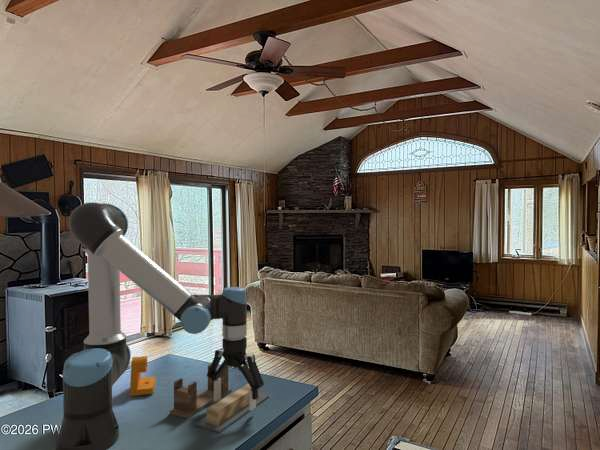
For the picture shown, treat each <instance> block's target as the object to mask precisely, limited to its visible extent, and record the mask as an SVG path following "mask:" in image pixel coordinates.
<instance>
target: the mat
mask: <svg viewBox="0 0 600 450" xmlns="http://www.w3.org/2000/svg"><path fill="white" fill-rule="evenodd" d="M269 397H270V396H269V394H263V393H260V397H258V398H257V399H256V407H258V406H259V405H260V404H262V403H263V402H265V401H266V400H267V399H268V398H269ZM248 413H250V411H249V404H248V405H247V406H245V407H244V408H242V409H241V410H239V411H238V412H237V413H235V414H234V415H232V416H231V417H229V418H228V419H226V420H225V421H224V422H222V423H221V424H219V425H218V426H217V425H214V424H211V423H207V415H206V416H205V417H202V419H200V420H199V421H197V422H195V423H194V425H195V426H196V427H199V428H202V429H206V430H208V431H210V432H211V431H212V432H215V433H217V434H221V433H222V432H223V431H224V430H226V429H227V428H229V427H230V426H231V425H233V424H234V423H235V422H237V421H238V420H240V419H241V418H243V417H244V416H246V414H248Z"/></svg>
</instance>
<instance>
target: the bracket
mask: <svg viewBox="0 0 600 450" xmlns="http://www.w3.org/2000/svg"><path fill="white" fill-rule="evenodd" d="M211 364H212V362H211V363H210V364H207V372H208V371H209V369H210V366H211ZM217 370H218V369H216V371H217ZM219 378H221V399H223V398H224V397H226V396H228V394H231V392H232V393H233V391H232V388H231V387H229V366H227V368H226V369H225V370H224V371H223V373H222V374H221V375H220V376H219ZM183 383H184V382H183V377H180V378H178V379H176V380H173V408H172V409H169V414H171V415H173V416H176V417H177V416H178V417H180V418H184V419H189V418H190V417H192V416H194V415H195V414H196V413H199V412H201V411H202V410H203V409H205V408H207V407H208V406H209V407H210V406H211V405H212V404H214V403H216V402H215V401H214V390H213V389H212V379H211V378H210V377H207V389H206V390H204V391H202V392H200V393H199V394H198V392H197V391H198V390H197V386H198V385H197V384H198V383H197V381H192V382H191V383H189V384H187V387H186V386H183V385H184V384H183Z"/></svg>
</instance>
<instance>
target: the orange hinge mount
mask: <svg viewBox="0 0 600 450" xmlns="http://www.w3.org/2000/svg"><path fill="white" fill-rule="evenodd" d="M130 363H131V365H130V381H129V382H130V383H129V386H130V387H129V393H130V394H129V396H143V395H151V394H154V392H155V389H156V383H157V382H156V379H157V378H156V376H146V377H142V373H147V371H148V355H144V356H142V355H141V356H132V358H131V361H130Z"/></svg>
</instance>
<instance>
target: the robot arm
mask: <svg viewBox="0 0 600 450" xmlns="http://www.w3.org/2000/svg"><path fill="white" fill-rule="evenodd" d="M128 228H129V220H128V217H127V215H126V214H125V212H124V211H123V210H122V209H121V208H119V207H118V206H116V205H113V204H110V203H98V202H85V203H82V204H80V205H78V206H77V207H75V208H74V209H73V210H72V212H71V213H70V215H69V217H68V229H69V232H70V233H71V236H72V237H73V238H74V239H75V240H76V241H77V242H78V243H79V244H80V245H81V250H82V251H83V252H85V253H86V255H87V276H88V277H87V280H88V281H87V282H88V284H87V286H88V287H87V288H88V325H89V326H88V329H89V330H88V331H89V333H88V335H87V336H86V338H84V339H83V350H80V351H78V352H75V353H72V354H70V356H69V357H68V358H66V360H65V362H64V364H63V369H62V370H63V371H62V383H63V384H62V390H63V392H62V393H63V396H62V397H63V407H62V408H63V417H62V421H61V425H60V426H59V427H60V428H59V431H58V434H57V436H56V439H55V450H107V449H109V448H110V447H111V446H112V445H114V444H115V443H116V442H117V441H118V439H119V438H120V426H119V424H118V421H117V418H116V416H115V413H114V410H113V386H114V384H115V383H116V382H117V381H118V380H119V378H120V377H121V376H122V375H123V374H124V373H125V372H126V371H127V368H128V367H129V364H130V363H131V359H132V358H131V356H132V355H131V353H132V351H131V349H130V346H129V345H128V343H127V334H125V332H123V331H122V330H121V326H122V325H121V321H122V320H121V282H120V274H123V275H124V276H125V277H127V278H128V279H129V280H130V281H131V282H133V283H134V284H135V285H136V286H138V287H139V288H140V289H141V290H142V291H143V292H144V293H146V294H147V295H149V297H151V298H152V299H153V300H155V301H156V302H157V303H158V304H159V305H160V306H161V307H163V308H164V309H165V310H167V311H168V312H169V313H170V314H172V316H174V317H175V318H176V319H177V320H178V321H180V326H181V327H182V329H183V331H185V332H186V333H188V334H190V335H191V334H192V335H197V334H200V333H202V332H204V331H205V330H206V329H207V328H208V326H209V325H210V323H211V320H221V319H222V327H221V328H222V332H221V333H222V334H221V336H222V337H223V338H222V348H219V349H216V350H215V351H214V357H213V359H212V361H211V363H212V364H211V363H210V364H211V366H210V369H209V371H208V370H207V374H206V377H207V378H208V377H210V378H211V379H212V389H213V390H214V401H215V402H214V403H217V402H219V401H220V400H222V398H221V378H219V376H220V375H221V374H222V373H223V371H224V370H225V369H226V368H227V366H228V368H234V369H238V371H240V372H241V373H242V375H243V377H244V378H245V380H246V381H247V384H248V383H249V385H250V387H251V388H250V389H249V412H252V411H253V410H255V409H256V408H257V406H256V399H257V398H258V389H259V388H260V389H261V388H262V387H263V386H264V385H265V383H264V380H263V378H262V375H261V372H260V370H259V368H258V365H257V362H256V356H255V354H250V355H249V354H247V353H246V352H247V349H248V348H247V345H248V344H247V342H248V340H247V339H248V338H247V332H248V331H247V328H248V327H247V325H248V324H247V318H248V317H247V316H248V314H247V312H248V309H247V308H248V306H247V305H248V297H247V290H246V289H245V288H244V287H240V286H228V287H225V288H224V287H223V289H222V292H221V293H220V294H192V292H190V291H189V290H188V289H187V288H186V287H184V286H183V285H182V284H181V283H180V282H179V281H178V280H176V279H175V278H174V277H173V276H171V274H169V273H168V272H167V271H166V270H165V269H163V268H162V267H161V266H160V265H159V264H157V263H156V262H155V261H153V259H152V258H150V256H148V255H147V254H146V253H144V252H143V251H142V250H141V249H140V248H138V247H137V246H136V245H135V244H134V243H132V242H131V241H130V240H129V239H128V238H127V237H126V236H125V235H127V232H128V230H129V229H128ZM222 357H223V359H224V360H223V361H222V362H221V360H222ZM220 362H221V364H220ZM219 365H220V366H219ZM216 370H217V371H216Z"/></svg>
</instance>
